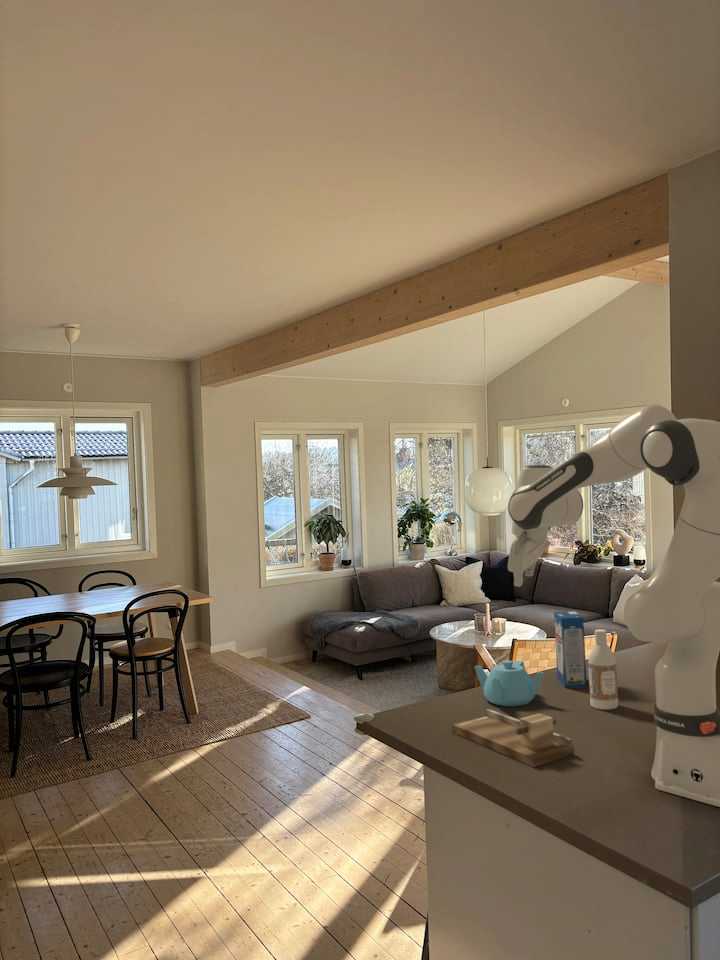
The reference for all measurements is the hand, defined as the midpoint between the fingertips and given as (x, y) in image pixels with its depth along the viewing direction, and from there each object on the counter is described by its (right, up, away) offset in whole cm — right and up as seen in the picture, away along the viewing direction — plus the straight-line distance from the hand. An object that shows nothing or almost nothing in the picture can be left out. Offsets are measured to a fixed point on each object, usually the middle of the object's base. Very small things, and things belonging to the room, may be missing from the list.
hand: (523, 580), depth 192 cm
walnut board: (-6, -36, -16) cm, 39 cm away
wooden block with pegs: (-2, -33, -23) cm, 41 cm away
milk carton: (+21, -34, +31) cm, 50 cm away
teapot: (0, -35, +17) cm, 39 cm away
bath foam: (+23, -34, +7) cm, 42 cm away
